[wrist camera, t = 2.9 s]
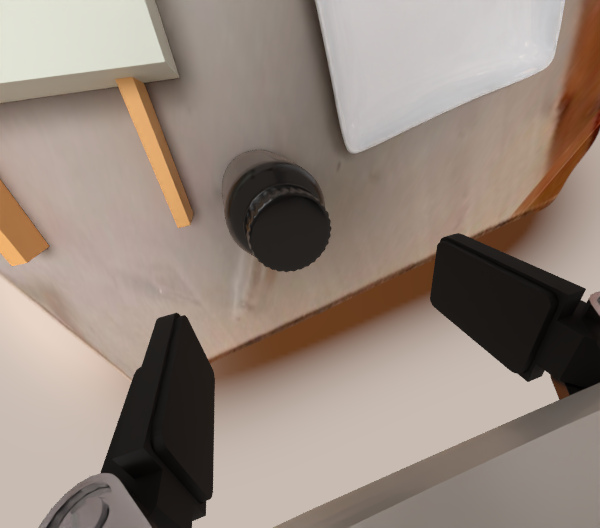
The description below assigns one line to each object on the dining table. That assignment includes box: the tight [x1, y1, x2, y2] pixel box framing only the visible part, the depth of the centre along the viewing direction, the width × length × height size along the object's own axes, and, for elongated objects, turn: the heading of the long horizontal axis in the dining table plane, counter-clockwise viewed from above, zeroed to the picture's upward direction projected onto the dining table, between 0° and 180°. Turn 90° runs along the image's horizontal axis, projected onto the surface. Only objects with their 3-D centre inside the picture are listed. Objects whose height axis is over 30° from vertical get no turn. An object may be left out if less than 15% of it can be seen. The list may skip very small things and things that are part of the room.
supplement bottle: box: [222, 150, 331, 272], centre depth 19 cm, size 7×7×12 cm
